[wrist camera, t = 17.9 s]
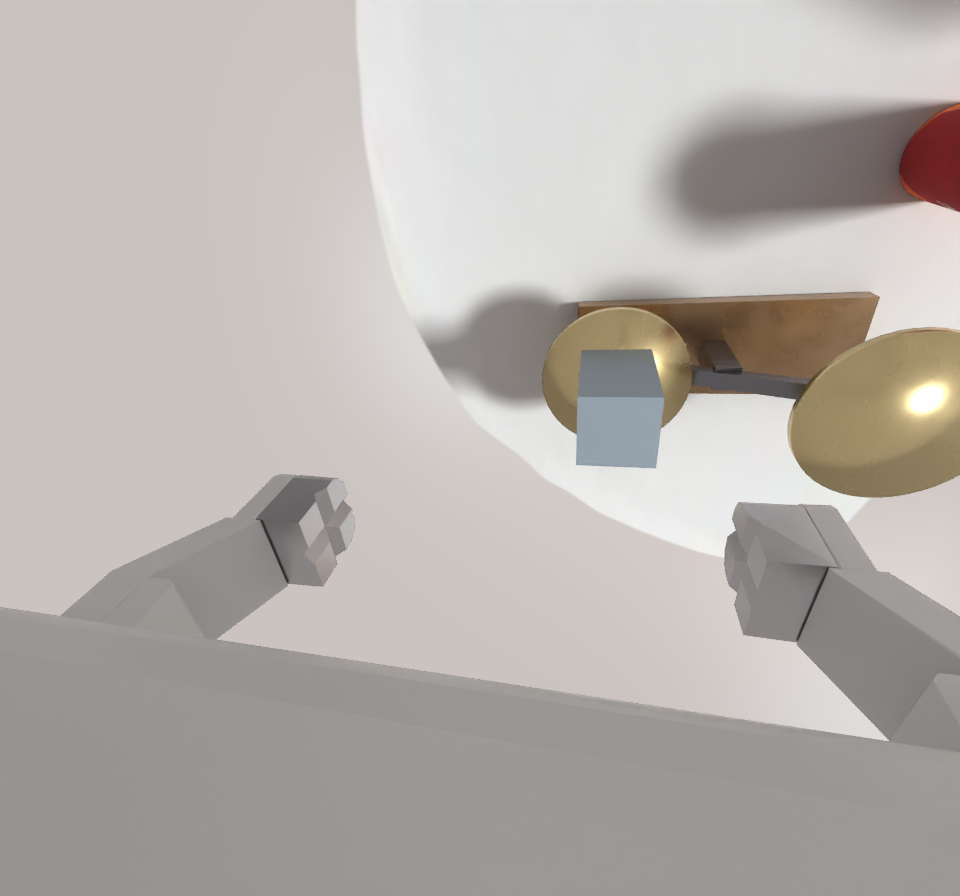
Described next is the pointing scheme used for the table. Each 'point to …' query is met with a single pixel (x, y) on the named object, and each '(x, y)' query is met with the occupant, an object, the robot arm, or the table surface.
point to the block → (619, 408)
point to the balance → (793, 378)
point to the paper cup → (934, 160)
